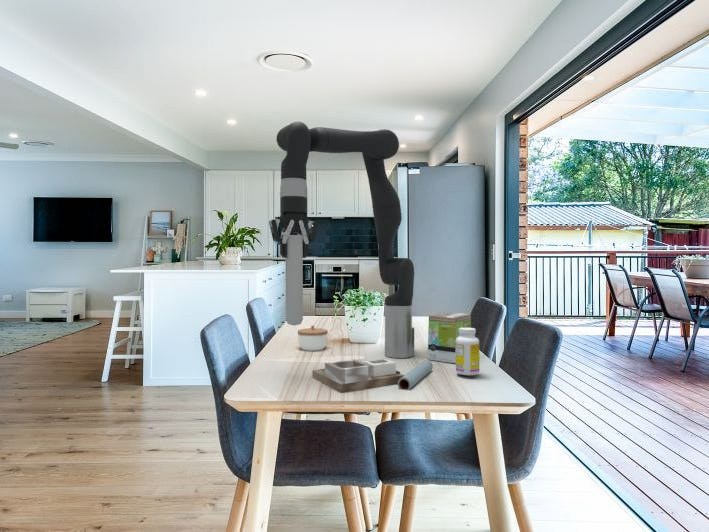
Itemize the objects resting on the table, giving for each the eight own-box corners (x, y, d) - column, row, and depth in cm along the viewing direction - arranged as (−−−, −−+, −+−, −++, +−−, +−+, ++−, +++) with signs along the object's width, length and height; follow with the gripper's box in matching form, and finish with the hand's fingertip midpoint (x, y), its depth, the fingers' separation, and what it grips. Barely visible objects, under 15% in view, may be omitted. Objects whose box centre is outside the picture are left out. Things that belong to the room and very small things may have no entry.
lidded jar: (296, 349, 164) (296, 324, 164) (324, 348, 167) (324, 323, 167) (299, 355, 154) (299, 328, 154) (330, 354, 156) (330, 327, 156)
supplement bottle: (480, 371, 130) (480, 327, 130) (478, 376, 124) (478, 330, 124) (456, 369, 132) (456, 326, 132) (454, 374, 126) (454, 329, 126)
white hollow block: (385, 370, 123) (385, 358, 123) (395, 373, 118) (395, 361, 118) (363, 372, 119) (363, 360, 119) (373, 376, 115) (373, 364, 115)
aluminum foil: (410, 392, 110) (410, 378, 110) (385, 389, 113) (385, 375, 113) (432, 372, 131) (432, 360, 131) (411, 370, 134) (411, 358, 134)
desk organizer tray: (371, 369, 132) (371, 351, 132) (404, 382, 117) (404, 361, 117) (312, 377, 123) (312, 357, 123) (340, 392, 108) (340, 369, 108)
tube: (301, 327, 121) (301, 234, 121) (282, 326, 121) (282, 235, 121) (305, 324, 126) (305, 236, 126) (287, 324, 127) (286, 236, 126)
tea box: (456, 363, 141) (456, 317, 141) (426, 360, 146) (427, 315, 146) (471, 355, 153) (471, 312, 153) (443, 352, 159) (443, 311, 159)
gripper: (273, 192, 117) (273, 257, 117) (323, 196, 124) (323, 257, 124) (264, 196, 123) (264, 258, 123) (312, 200, 130) (312, 258, 130)
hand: (294, 257), depth 124 cm, fingers closed on tube, 5 cm apart
